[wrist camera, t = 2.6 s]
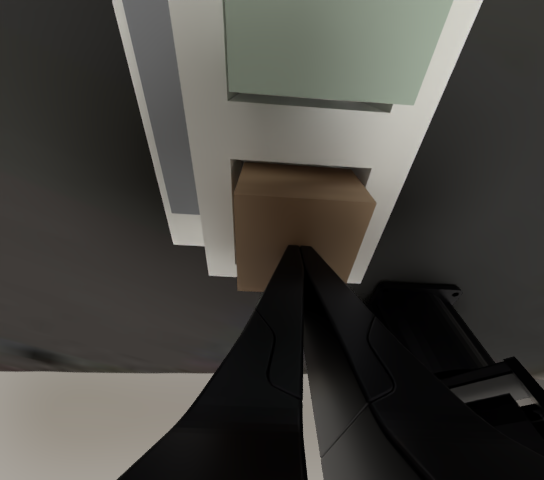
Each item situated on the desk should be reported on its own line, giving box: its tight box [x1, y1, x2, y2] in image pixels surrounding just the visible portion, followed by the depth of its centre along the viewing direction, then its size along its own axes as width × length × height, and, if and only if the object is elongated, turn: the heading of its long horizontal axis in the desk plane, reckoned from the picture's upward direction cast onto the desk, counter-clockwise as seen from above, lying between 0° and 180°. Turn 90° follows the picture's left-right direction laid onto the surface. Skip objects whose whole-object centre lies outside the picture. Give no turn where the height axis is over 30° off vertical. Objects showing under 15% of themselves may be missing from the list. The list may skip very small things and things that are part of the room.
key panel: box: [112, 0, 483, 284], centre depth 9 cm, size 11×16×4 cm
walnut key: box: [233, 162, 377, 292], centre depth 9 cm, size 4×4×3 cm
